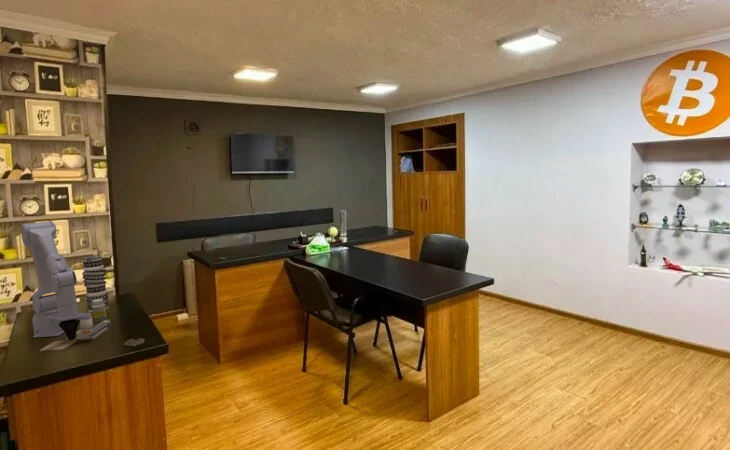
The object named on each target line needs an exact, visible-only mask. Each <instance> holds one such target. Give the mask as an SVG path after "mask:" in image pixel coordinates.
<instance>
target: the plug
mask: <svg viewBox="0 0 730 450" xmlns="http://www.w3.org/2000/svg"><path fill="white" fill-rule="evenodd" d="M79 325H80V326H79V327H80V330H81V331H80V332H78V333H77V336H76V337H82V331H84V330H90V329H91V328H93V327H94V323H93V315H91V319H89V320H86V319H85V320H81V321H80V323H79ZM98 332H99V330H98V331H97V332H95V333H94V334H93V335H95V334H96V333H98ZM93 335H91V336H93Z"/></svg>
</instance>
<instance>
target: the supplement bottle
mask: <svg viewBox="0 0 730 450" xmlns="http://www.w3.org/2000/svg"><path fill="white" fill-rule="evenodd" d="M92 304H93V306H92V311H93V313H92V319H93V321H95V322H99V321H102V320H106V319H107V318H108V317H107V310H106V309H105V304H104V303H103V299H96V300H93V301H92Z"/></svg>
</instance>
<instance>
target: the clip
mask: <svg viewBox="0 0 730 450" xmlns="http://www.w3.org/2000/svg"><path fill="white" fill-rule="evenodd" d="M100 321H101V322H99V323H97V324H96V325H93V328H91V329H90V330H84V331H82V337H83V338H88V337H90V336H91V335H93V334H94V333H95V332H97V331H98V332H99V331H101V330H100V329H101V328H103V327H104V326H106V325H108V324H109V325H111V320H110V319H109V318H108V319H107V318H106V319H104V320H100Z"/></svg>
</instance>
